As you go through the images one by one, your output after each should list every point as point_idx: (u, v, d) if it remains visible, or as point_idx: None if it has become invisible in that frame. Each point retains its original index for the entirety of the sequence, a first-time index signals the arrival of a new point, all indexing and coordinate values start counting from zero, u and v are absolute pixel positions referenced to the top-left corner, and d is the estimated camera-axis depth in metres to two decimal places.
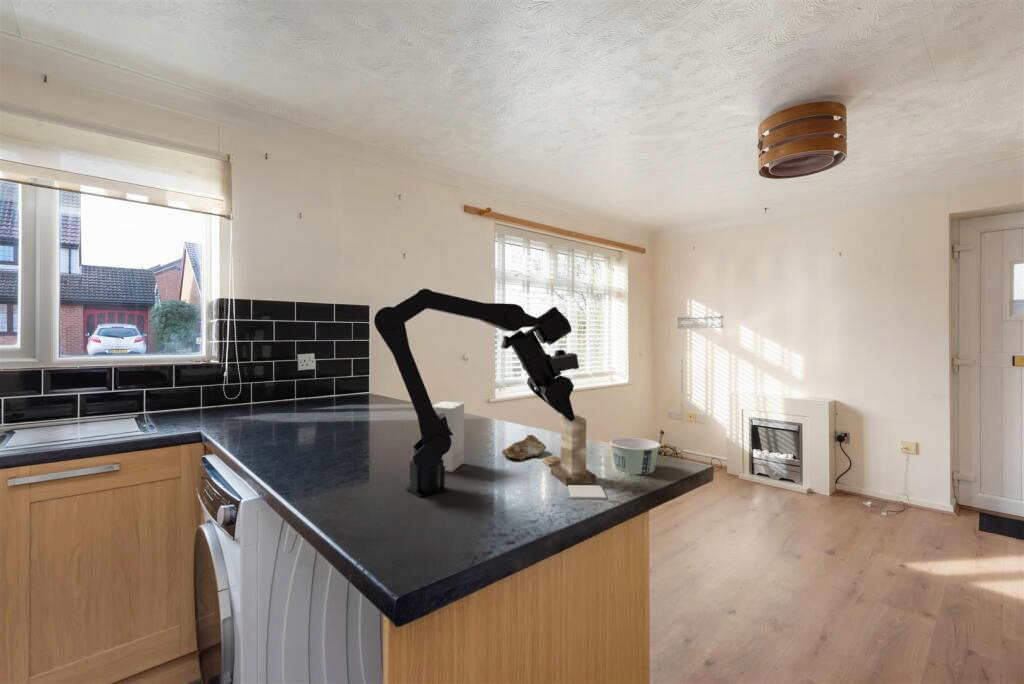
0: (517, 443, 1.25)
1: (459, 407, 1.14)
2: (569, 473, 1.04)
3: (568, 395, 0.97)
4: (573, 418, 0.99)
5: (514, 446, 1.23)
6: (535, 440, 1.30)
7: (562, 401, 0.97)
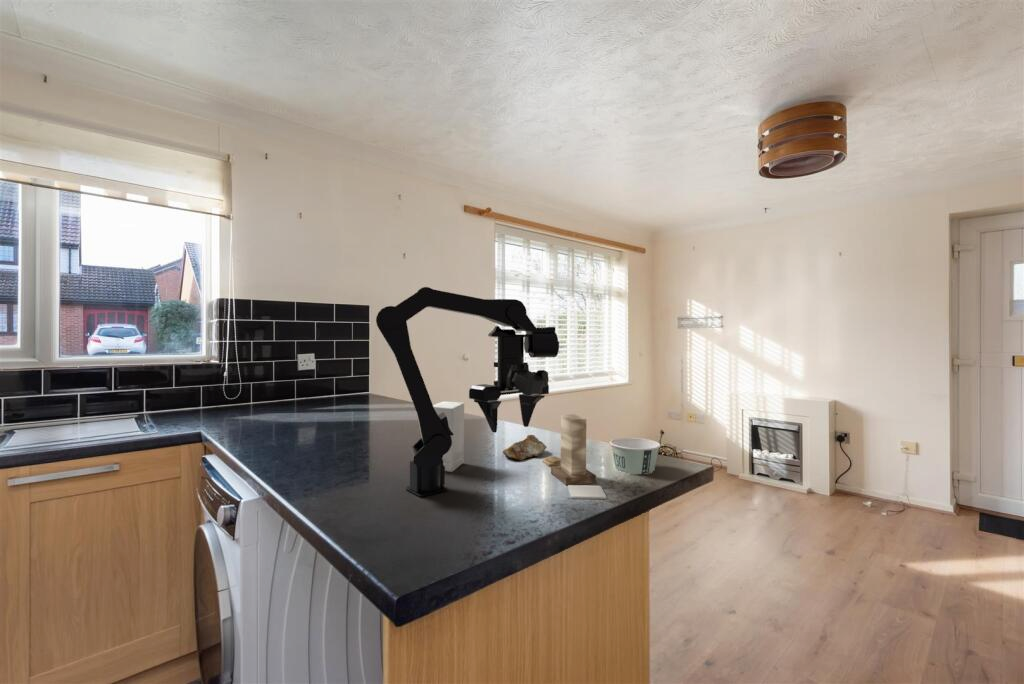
0: (517, 443, 1.25)
1: (459, 407, 1.14)
2: (569, 473, 1.04)
3: (491, 406, 0.96)
4: (494, 430, 0.98)
5: (514, 446, 1.23)
6: (535, 440, 1.30)
7: (489, 408, 0.98)
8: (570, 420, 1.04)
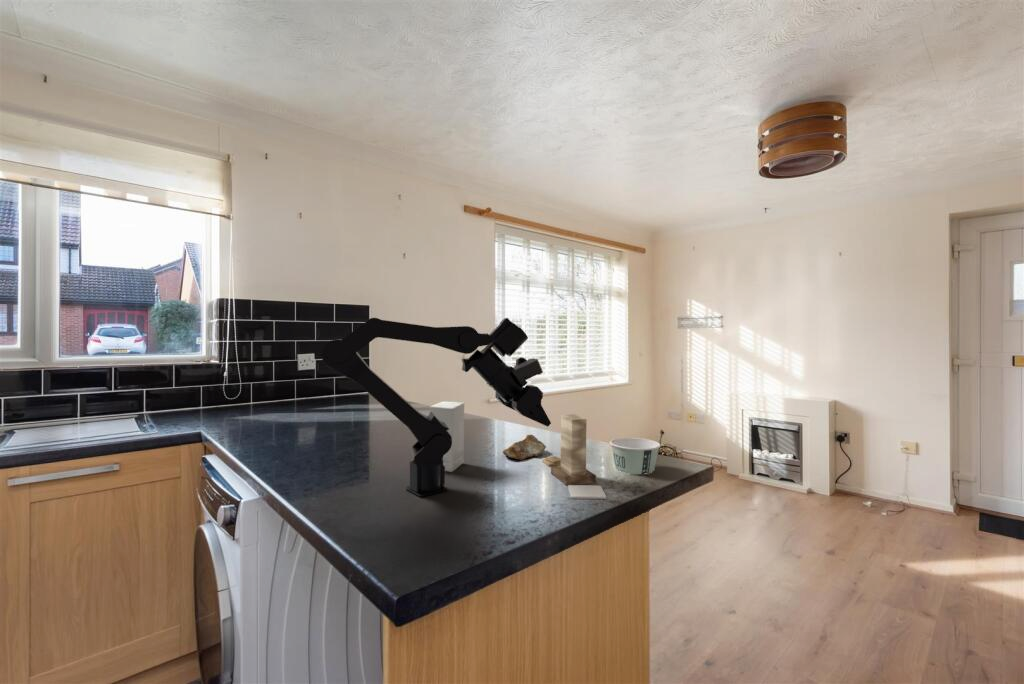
0: (517, 443, 1.25)
1: (459, 407, 1.14)
2: (569, 473, 1.04)
3: (539, 402, 0.97)
4: (549, 422, 0.99)
5: (515, 446, 1.23)
6: (535, 440, 1.30)
7: (535, 409, 0.98)
8: (570, 420, 1.04)
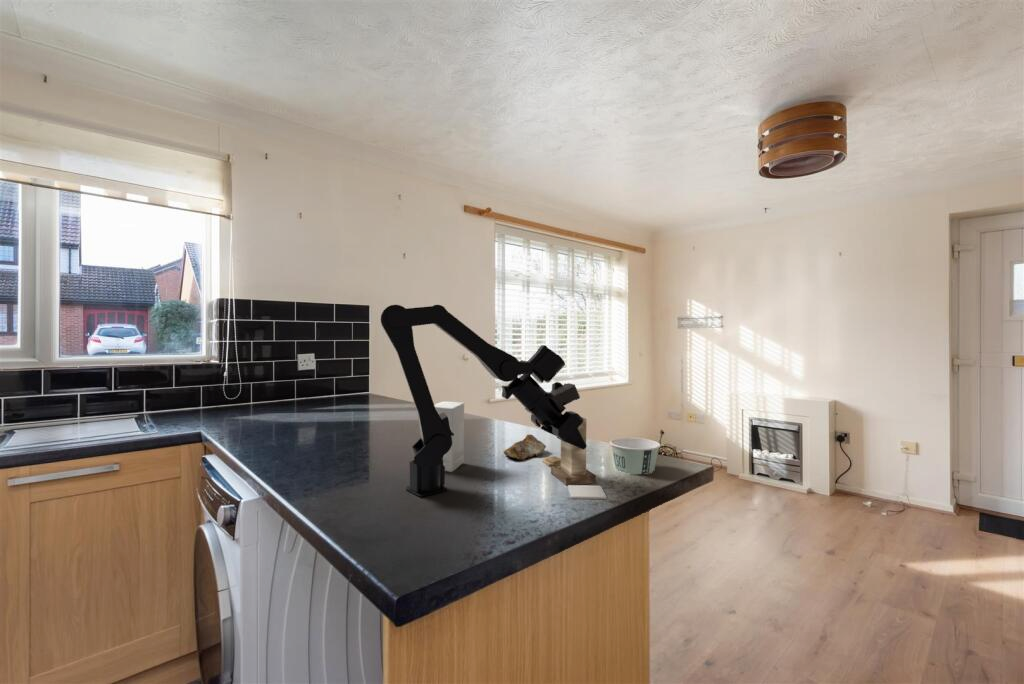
0: (518, 443, 1.26)
1: (459, 407, 1.14)
2: (569, 473, 1.04)
3: None
4: (585, 445, 1.03)
5: (516, 446, 1.23)
6: (535, 440, 1.30)
7: (572, 433, 1.01)
8: None
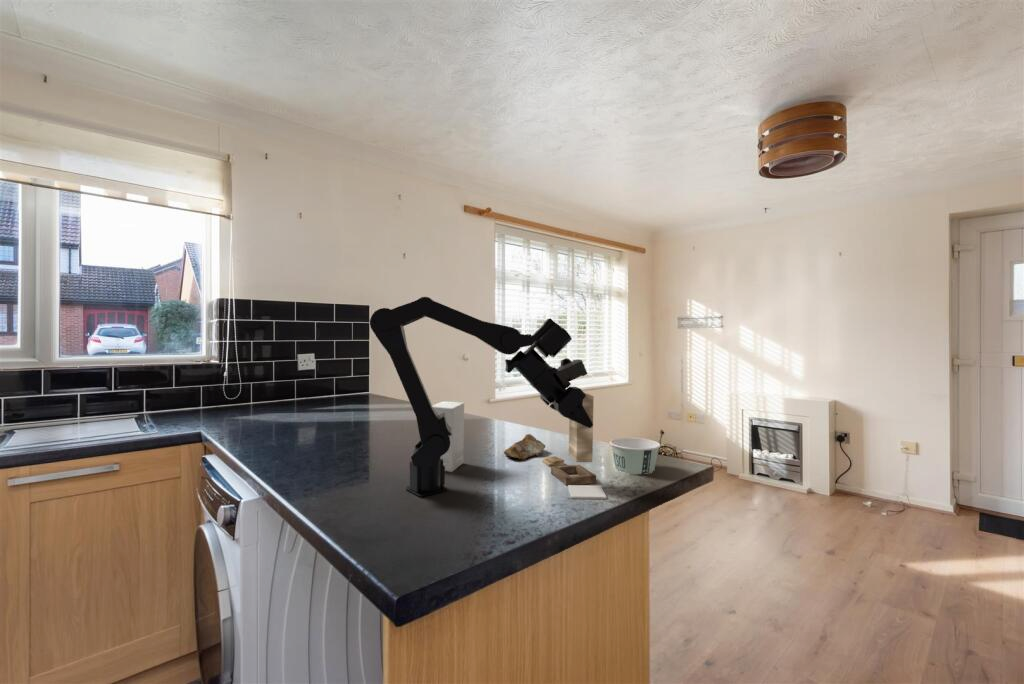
0: (518, 443, 1.26)
1: (459, 407, 1.14)
2: (575, 452, 0.99)
3: (581, 403, 0.96)
4: (591, 424, 0.98)
5: (516, 446, 1.23)
6: (534, 439, 1.30)
7: (576, 410, 0.97)
8: None
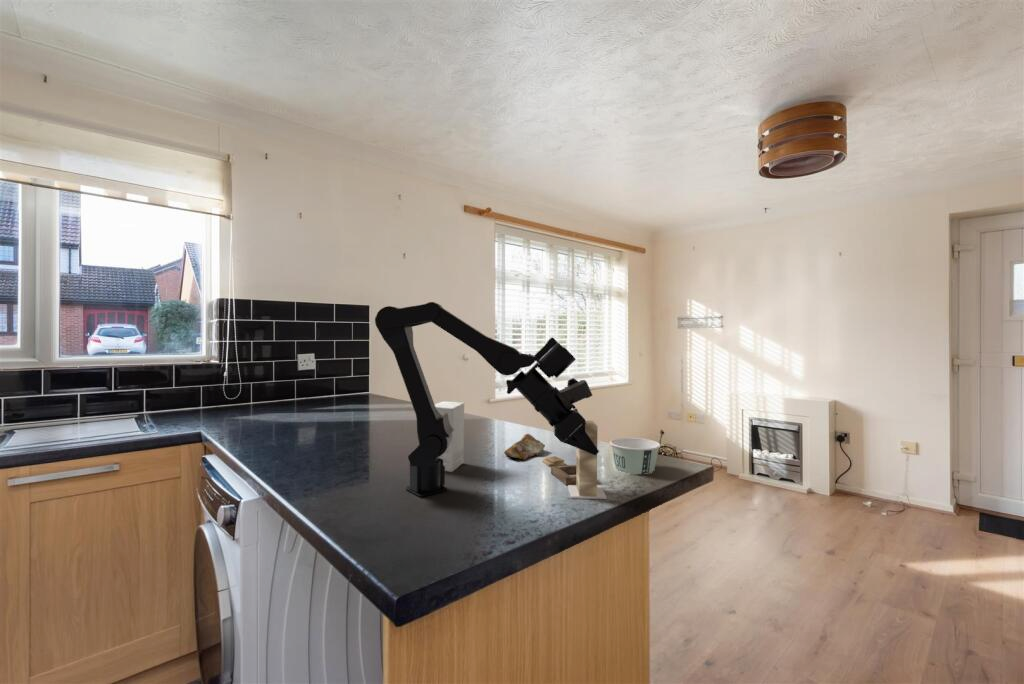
0: (518, 443, 1.26)
1: (459, 407, 1.14)
2: (578, 485, 0.95)
3: (583, 429, 0.90)
4: (596, 451, 0.91)
5: (517, 446, 1.23)
6: (533, 439, 1.31)
7: (579, 436, 0.91)
8: None
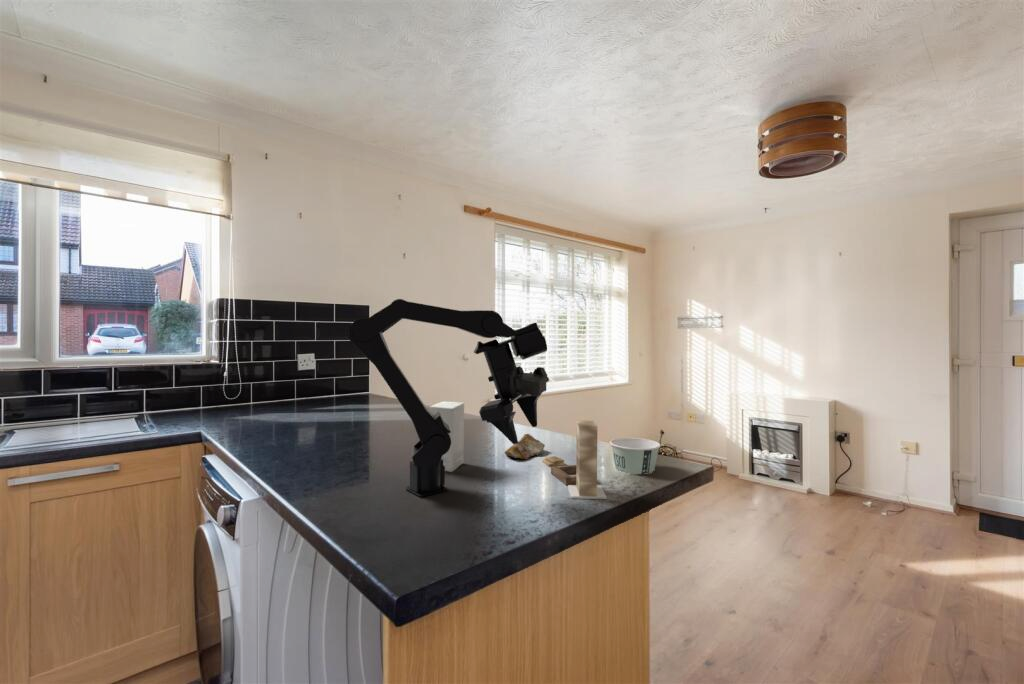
0: (519, 443, 1.26)
1: (459, 407, 1.14)
2: (578, 485, 0.95)
3: (508, 420, 0.94)
4: (515, 442, 0.97)
5: (517, 446, 1.24)
6: (533, 439, 1.31)
7: (504, 423, 0.96)
8: (579, 426, 0.94)
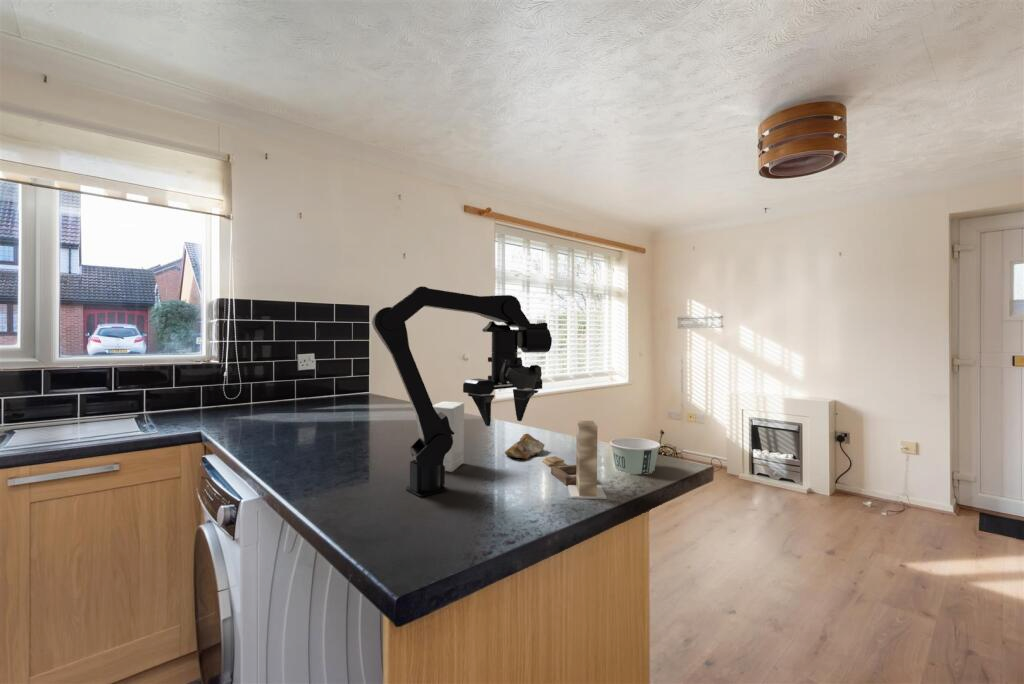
0: (519, 442, 1.26)
1: (459, 407, 1.14)
2: (578, 485, 0.95)
3: (484, 400, 0.98)
4: (487, 424, 1.00)
5: (518, 446, 1.24)
6: (533, 439, 1.31)
7: (483, 402, 0.99)
8: (579, 426, 0.94)
